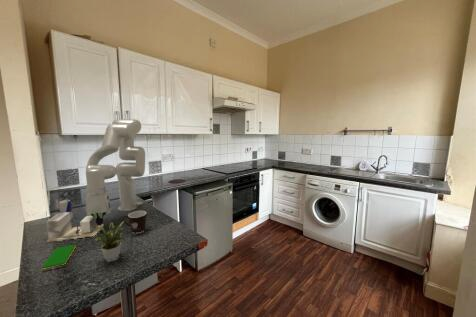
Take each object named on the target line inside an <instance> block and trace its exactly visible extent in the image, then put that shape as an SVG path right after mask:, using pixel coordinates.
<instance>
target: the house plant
mask: <svg viewBox="0 0 476 317" xmlns="http://www.w3.org/2000/svg"><path fill="white" fill-rule="evenodd" d="M124 222H126V220H124V221H123V220H122V222H121V223H120V224H119V225H118V226H116V225H114V222H112V221H111V222H110V224H109V226H108V227H109V229H108V231H106V229H105V228H104V226H101V225H100V226H101V227H100V226H99V228H101V230H100V231H97V230H95V229H93V230H95V231H97V232H98V234H99V235H98V234H96V236H97V237H94V236H93V237H92V238H94V242H102V243H101V244H100V245H101V248H100V249H101V253H102V254H103V258H104V259H105V258H106V259H110V258H114V257H116V256H118V255H119V254H121V246H122V242H124V238H123V236H122V234H123V231H120V232H119V230H123V229H124V228H125V227H122V225H123V224H125V223H124ZM115 227H116V229H114V228H115ZM101 231H102V232H103V233H102V232H101ZM100 235H101V236H102V237H101V236H100ZM98 245H99V243H96V246H98Z"/></svg>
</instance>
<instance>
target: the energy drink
mask: <svg viewBox="0 0 476 317" xmlns="http://www.w3.org/2000/svg"><path fill="white" fill-rule="evenodd" d="M58 207H59V213H65V212H70V219H71V221H73V219H74V214H73V207H72V200H71V199H63V200H59V202H58Z"/></svg>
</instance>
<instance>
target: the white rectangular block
mask: <svg viewBox="0 0 476 317" xmlns="http://www.w3.org/2000/svg"><path fill="white" fill-rule="evenodd" d="M79 224H80V226H79V227H81V230H80V231H79V234H81V233H87V232H92V231H93V229H94V228H95V227H96V226H97V224H96V219H95V218H94V217H93V216H90V215H86V216H84V218H83V219H81V220H80V221H79Z"/></svg>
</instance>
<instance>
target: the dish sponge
mask: <svg viewBox="0 0 476 317" xmlns="http://www.w3.org/2000/svg"><path fill="white" fill-rule="evenodd" d="M75 248H76V249H77V245H76V244H70V245H65V246H59V247H56V248H55V249H54V250H53V251H52V253H51V254H50V255H49V257H48V258H47V260H46V261H45V262H44V264H43V265H42V266H41V270H42V269H46V268H50V267H54V266H59V265H64V264H66V262H67V260H68V259H69V257H70V256H71V254H72V252H73V251H74V249H75ZM74 252H75V251H74Z"/></svg>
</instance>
